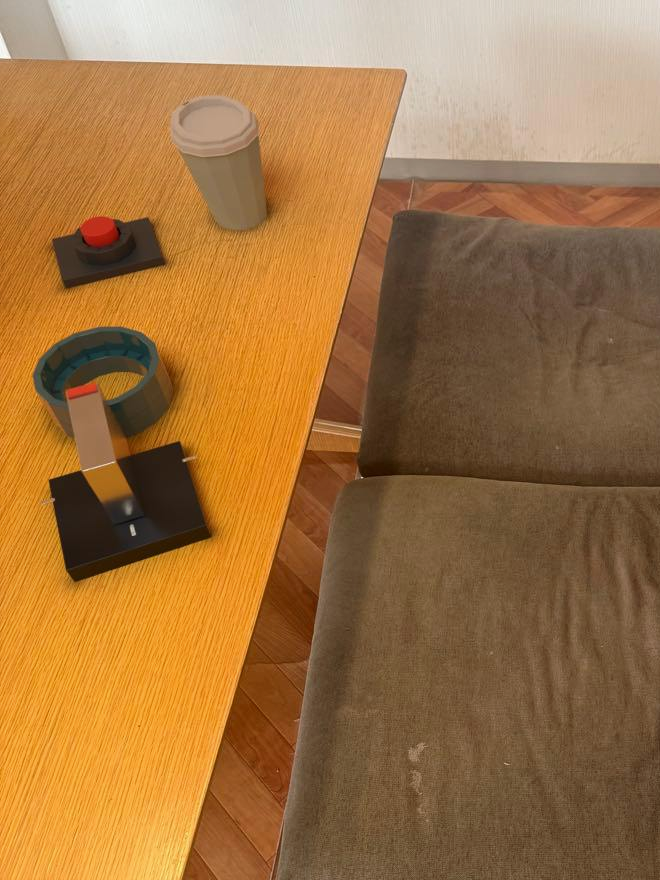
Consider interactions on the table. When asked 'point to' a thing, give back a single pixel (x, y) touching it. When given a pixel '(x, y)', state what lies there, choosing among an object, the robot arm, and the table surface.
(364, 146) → the table surface
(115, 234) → the button
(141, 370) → the teal ring
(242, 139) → the disposable coffee cup
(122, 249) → the button box
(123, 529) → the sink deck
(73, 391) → the reflective bent rectangular block
